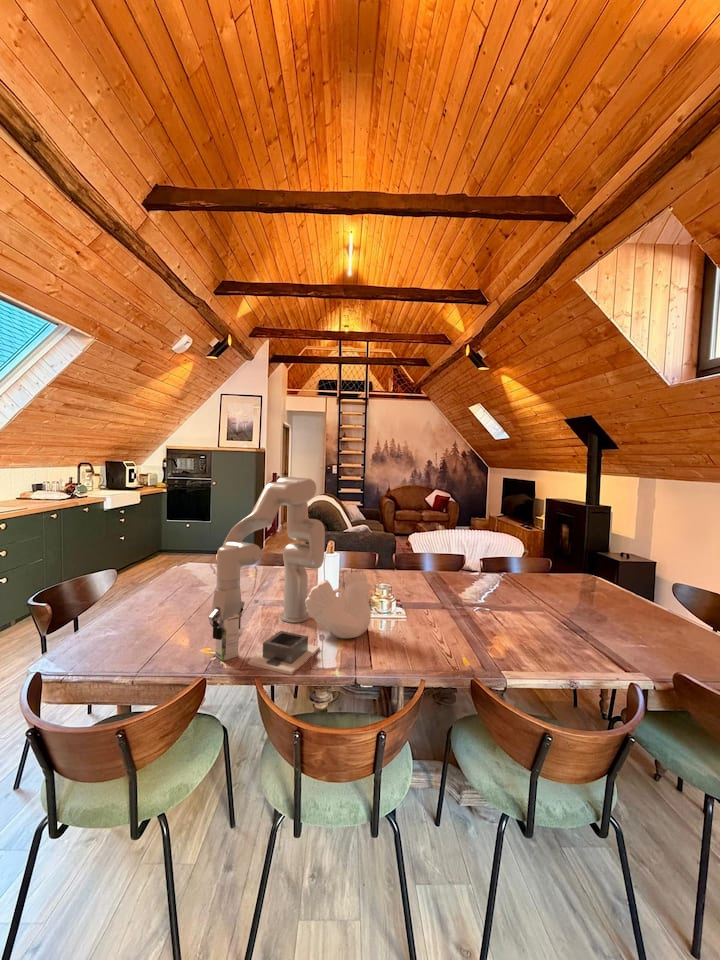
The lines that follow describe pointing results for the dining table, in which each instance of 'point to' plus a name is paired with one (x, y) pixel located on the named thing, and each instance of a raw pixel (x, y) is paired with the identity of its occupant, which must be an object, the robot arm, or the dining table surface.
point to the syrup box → (228, 638)
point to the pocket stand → (284, 653)
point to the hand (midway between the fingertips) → (226, 633)
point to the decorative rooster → (342, 606)
